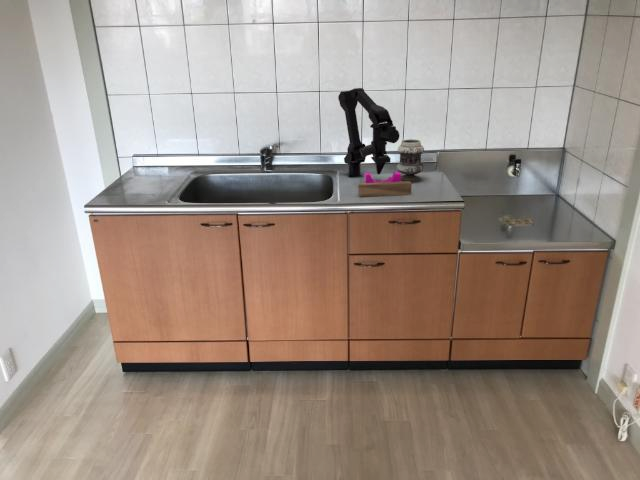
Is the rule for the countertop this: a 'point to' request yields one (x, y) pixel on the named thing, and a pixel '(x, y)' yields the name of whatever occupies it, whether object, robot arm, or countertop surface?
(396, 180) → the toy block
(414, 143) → the apothecary jar
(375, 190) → the walnut board
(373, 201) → the countertop surface
